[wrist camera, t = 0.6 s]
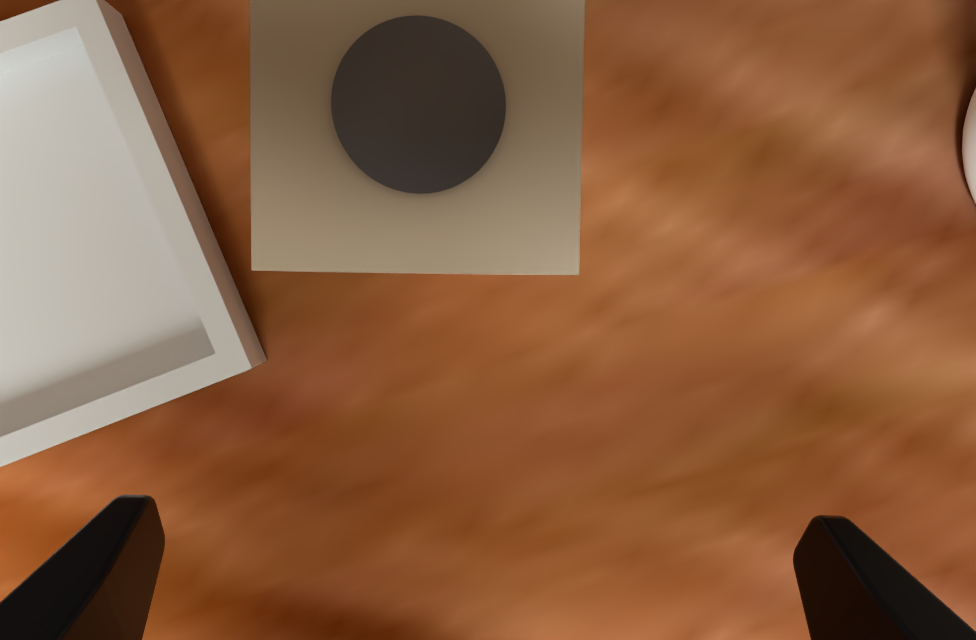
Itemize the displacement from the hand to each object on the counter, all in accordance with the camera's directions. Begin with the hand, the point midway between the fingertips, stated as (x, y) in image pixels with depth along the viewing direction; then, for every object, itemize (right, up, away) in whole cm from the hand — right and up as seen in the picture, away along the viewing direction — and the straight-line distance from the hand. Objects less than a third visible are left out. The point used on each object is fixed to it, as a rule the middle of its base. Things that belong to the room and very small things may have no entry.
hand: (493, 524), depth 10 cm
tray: (-15, +5, +12) cm, 20 cm away
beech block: (-2, +7, +13) cm, 15 cm away
